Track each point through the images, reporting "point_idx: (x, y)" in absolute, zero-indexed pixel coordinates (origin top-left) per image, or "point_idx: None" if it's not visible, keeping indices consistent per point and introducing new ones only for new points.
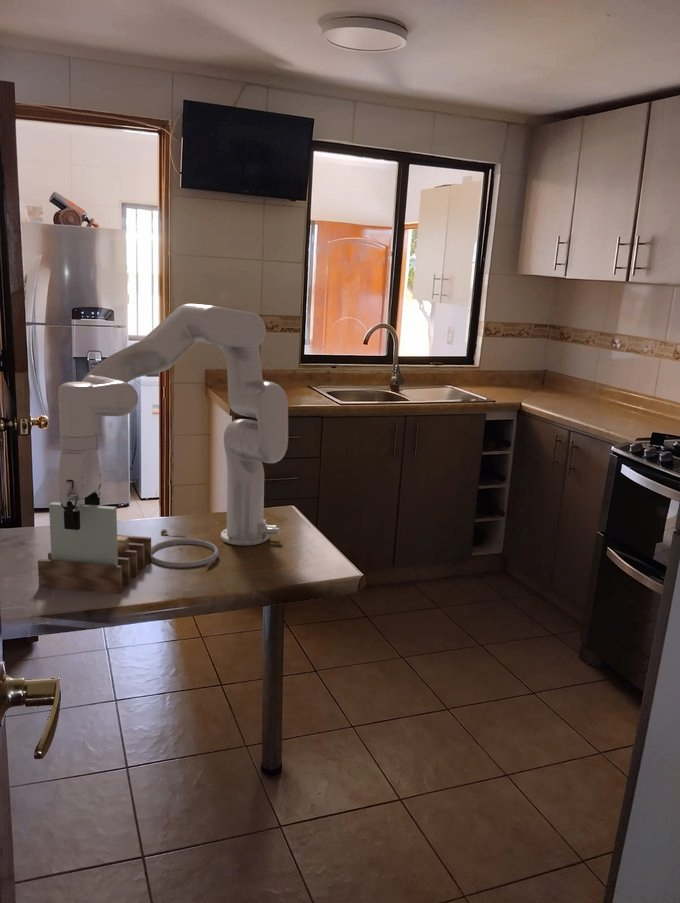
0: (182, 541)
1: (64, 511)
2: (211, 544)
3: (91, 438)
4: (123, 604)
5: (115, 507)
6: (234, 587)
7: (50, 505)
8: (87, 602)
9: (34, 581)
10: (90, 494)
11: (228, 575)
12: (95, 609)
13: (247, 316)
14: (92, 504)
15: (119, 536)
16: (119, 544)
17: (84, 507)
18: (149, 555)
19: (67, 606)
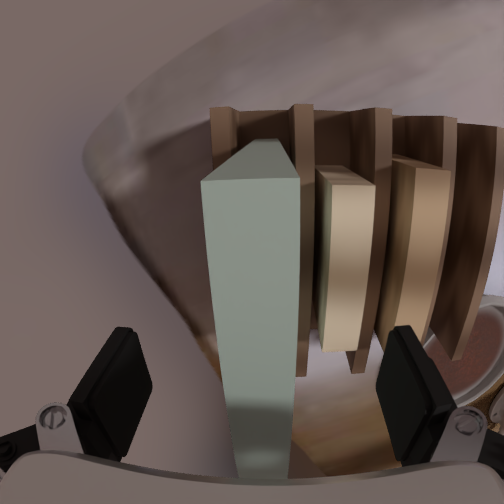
0: None
1: (73, 399)
2: (484, 389)
3: None
4: (214, 336)
5: None
6: (328, 449)
7: (207, 195)
8: (199, 264)
9: (289, 65)
10: (430, 452)
11: (377, 433)
12: (173, 294)
13: None
14: (396, 412)
15: (421, 330)
16: (386, 333)
17: (236, 453)
18: (433, 332)
19: (165, 230)
